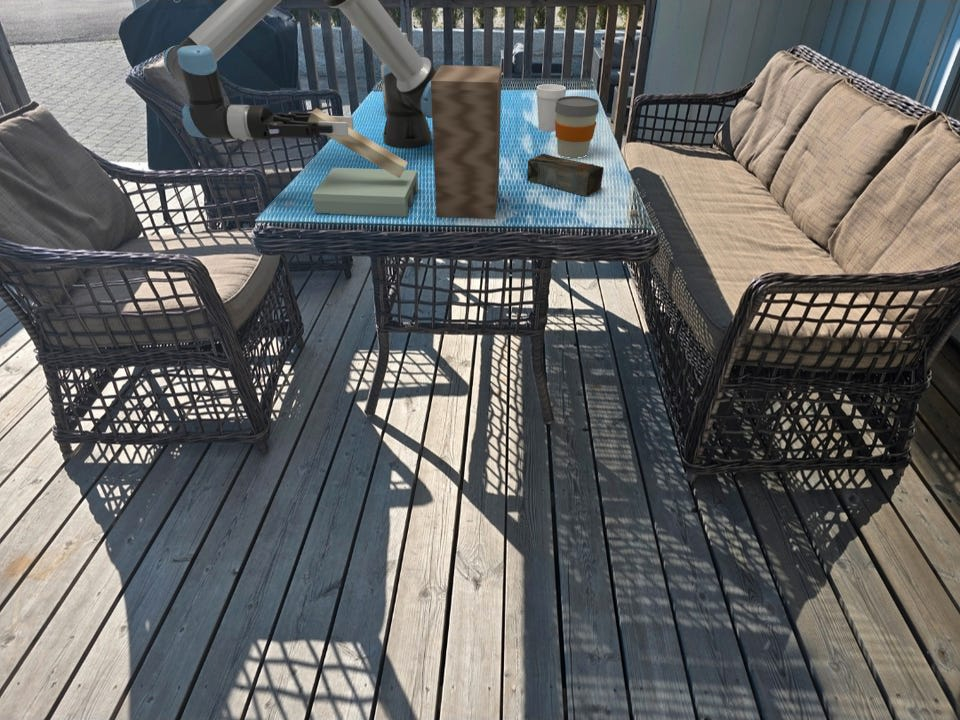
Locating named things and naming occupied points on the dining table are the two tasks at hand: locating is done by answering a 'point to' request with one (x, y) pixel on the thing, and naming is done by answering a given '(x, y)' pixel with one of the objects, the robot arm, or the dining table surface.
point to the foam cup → (548, 104)
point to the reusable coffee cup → (575, 124)
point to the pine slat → (363, 146)
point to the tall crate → (466, 140)
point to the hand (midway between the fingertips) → (349, 125)
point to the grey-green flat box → (366, 192)
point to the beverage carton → (565, 174)
